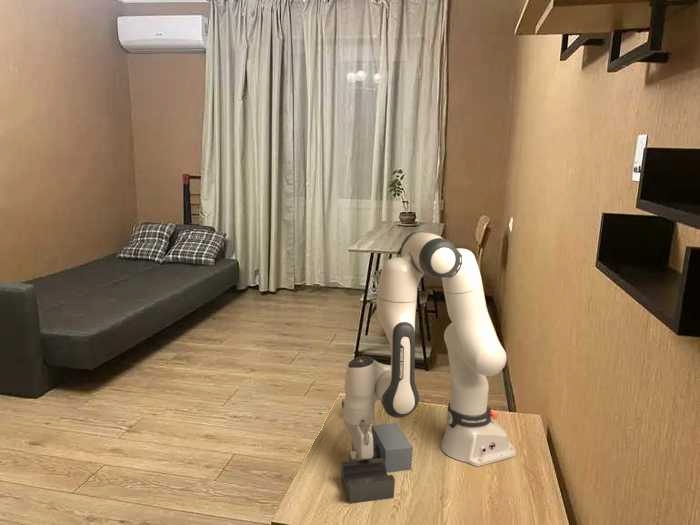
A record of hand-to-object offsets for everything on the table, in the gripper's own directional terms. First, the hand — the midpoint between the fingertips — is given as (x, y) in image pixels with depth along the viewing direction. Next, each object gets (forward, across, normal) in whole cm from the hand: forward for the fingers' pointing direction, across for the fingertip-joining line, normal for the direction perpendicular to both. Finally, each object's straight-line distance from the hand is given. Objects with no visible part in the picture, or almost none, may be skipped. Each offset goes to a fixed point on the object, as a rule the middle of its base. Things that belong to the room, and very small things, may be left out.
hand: (356, 455), depth 153 cm
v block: (+2, -13, +1) cm, 13 cm away
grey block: (+2, 0, -10) cm, 11 cm away
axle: (+2, 0, -4) cm, 4 cm away
